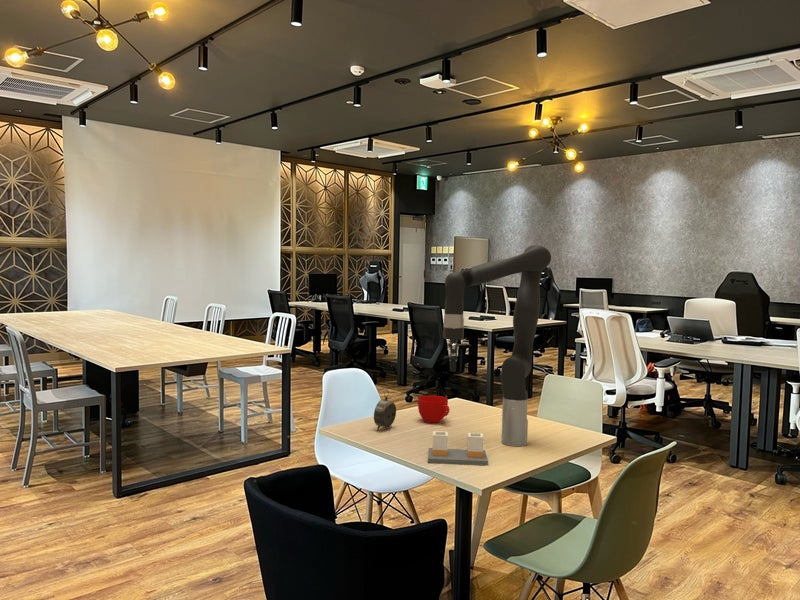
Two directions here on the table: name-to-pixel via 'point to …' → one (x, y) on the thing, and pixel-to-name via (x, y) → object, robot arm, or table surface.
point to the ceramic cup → (433, 408)
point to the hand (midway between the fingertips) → (452, 369)
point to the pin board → (463, 453)
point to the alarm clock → (384, 413)
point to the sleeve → (440, 443)
